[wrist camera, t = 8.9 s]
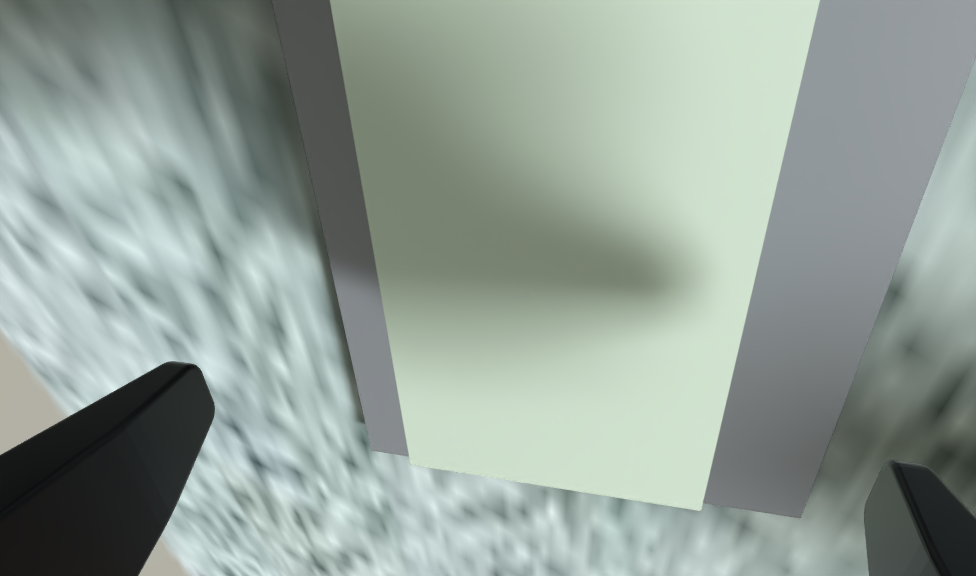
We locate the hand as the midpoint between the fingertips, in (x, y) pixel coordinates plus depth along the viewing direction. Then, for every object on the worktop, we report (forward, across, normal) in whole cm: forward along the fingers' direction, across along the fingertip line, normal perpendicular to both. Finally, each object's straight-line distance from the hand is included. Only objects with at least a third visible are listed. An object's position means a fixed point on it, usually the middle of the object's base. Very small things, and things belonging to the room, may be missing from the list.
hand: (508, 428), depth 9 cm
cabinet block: (+8, 0, 0) cm, 8 cm away
